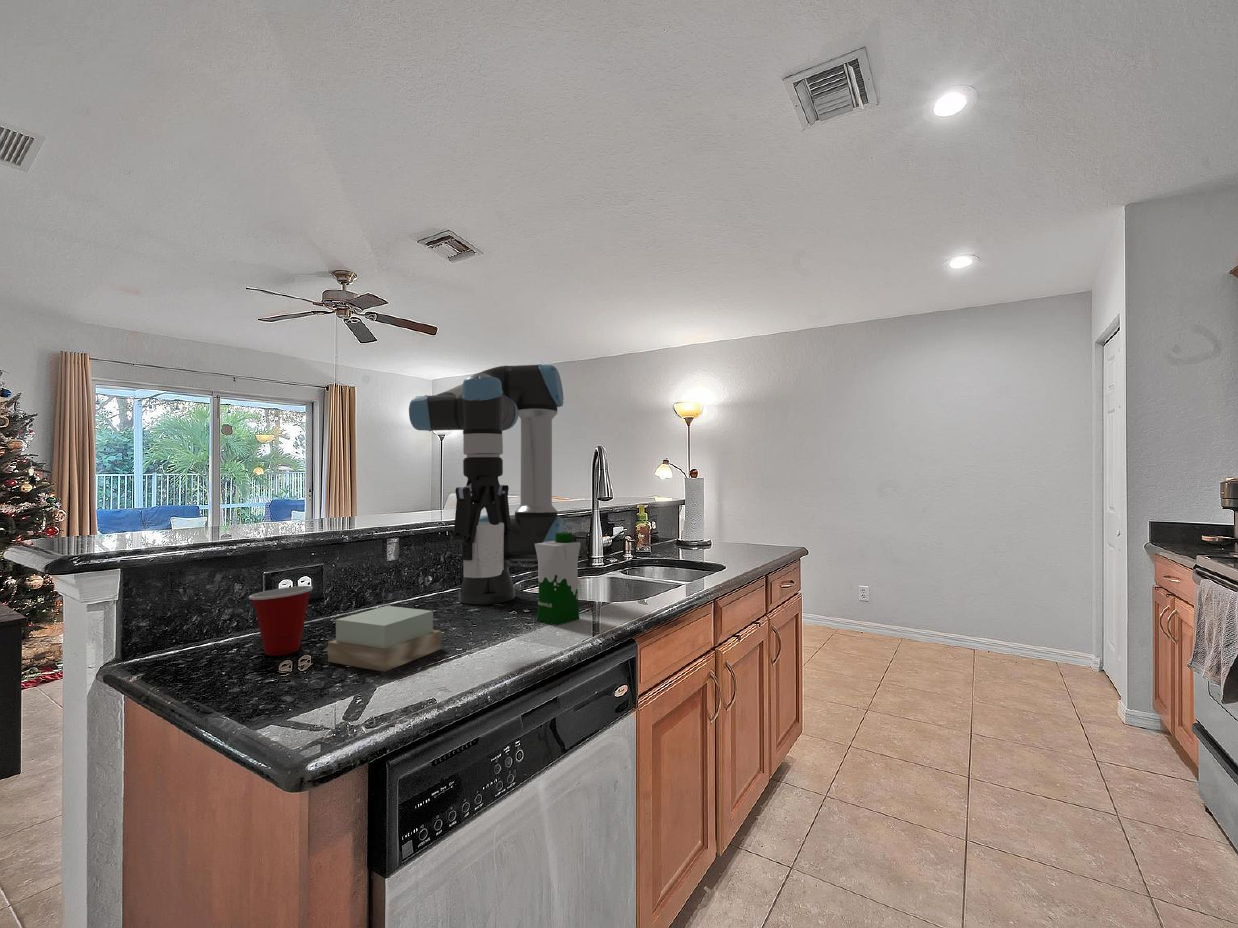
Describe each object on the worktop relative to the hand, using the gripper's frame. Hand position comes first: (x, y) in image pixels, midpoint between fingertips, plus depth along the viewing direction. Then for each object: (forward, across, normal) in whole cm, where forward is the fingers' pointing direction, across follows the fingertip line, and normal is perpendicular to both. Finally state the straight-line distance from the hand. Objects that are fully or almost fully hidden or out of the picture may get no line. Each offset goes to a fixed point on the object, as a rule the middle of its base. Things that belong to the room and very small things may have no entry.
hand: (484, 573), depth 111 cm
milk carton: (+15, -24, +2) cm, 29 cm away
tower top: (+11, +11, -15) cm, 21 cm away
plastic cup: (+15, +17, -36) cm, 42 cm away
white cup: (+1, 0, 0) cm, 1 cm away
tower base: (+15, +10, -15) cm, 24 cm away
